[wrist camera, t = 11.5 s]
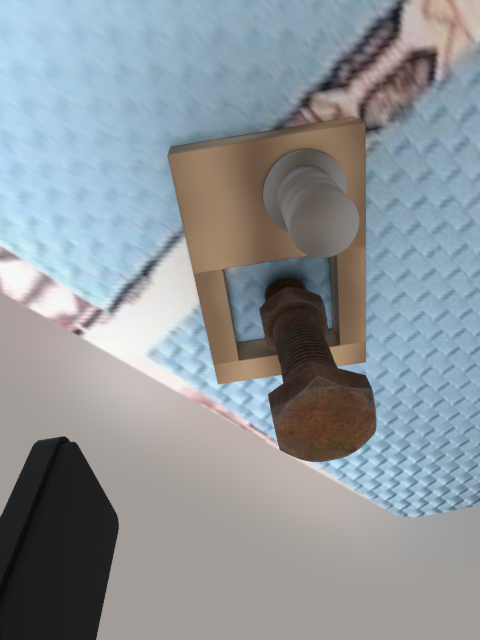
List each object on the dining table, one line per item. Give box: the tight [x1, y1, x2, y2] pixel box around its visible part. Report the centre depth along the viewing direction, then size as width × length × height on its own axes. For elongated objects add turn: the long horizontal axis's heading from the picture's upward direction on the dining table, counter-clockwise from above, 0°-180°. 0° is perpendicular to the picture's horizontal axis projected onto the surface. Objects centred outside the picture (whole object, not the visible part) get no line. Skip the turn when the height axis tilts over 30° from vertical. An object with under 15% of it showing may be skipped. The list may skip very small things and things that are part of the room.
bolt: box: [260, 278, 376, 462], centre depth 29 cm, size 6×5×15 cm
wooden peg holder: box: [168, 117, 366, 384], centre depth 30 cm, size 12×18×9 cm, turn 8°
